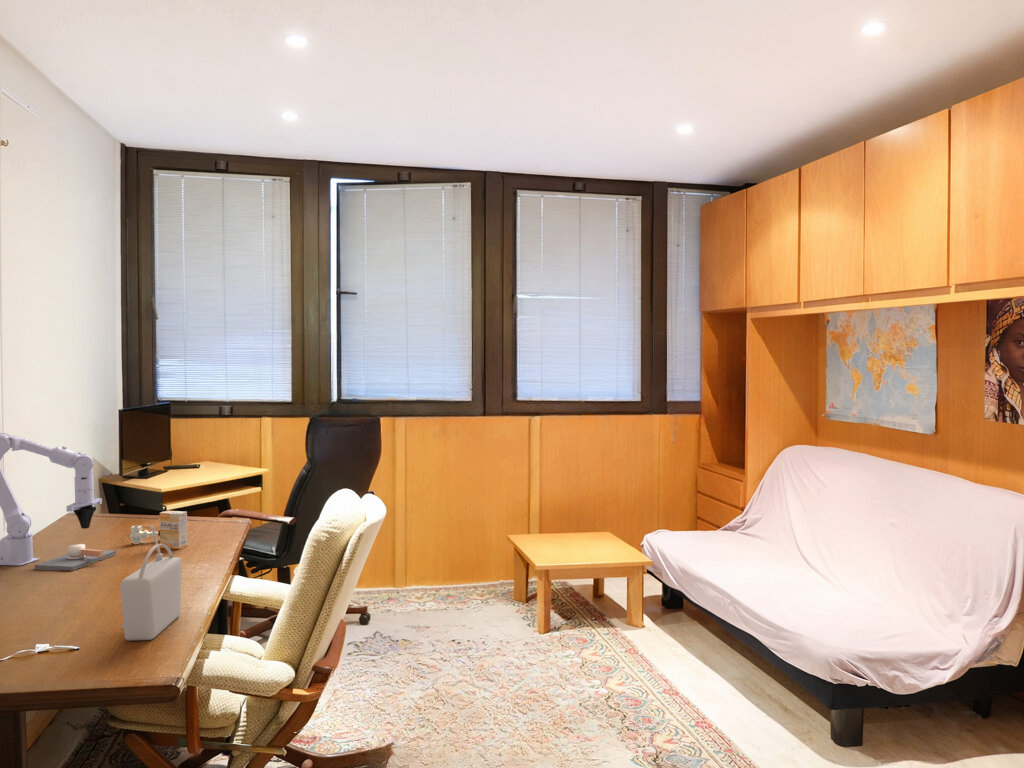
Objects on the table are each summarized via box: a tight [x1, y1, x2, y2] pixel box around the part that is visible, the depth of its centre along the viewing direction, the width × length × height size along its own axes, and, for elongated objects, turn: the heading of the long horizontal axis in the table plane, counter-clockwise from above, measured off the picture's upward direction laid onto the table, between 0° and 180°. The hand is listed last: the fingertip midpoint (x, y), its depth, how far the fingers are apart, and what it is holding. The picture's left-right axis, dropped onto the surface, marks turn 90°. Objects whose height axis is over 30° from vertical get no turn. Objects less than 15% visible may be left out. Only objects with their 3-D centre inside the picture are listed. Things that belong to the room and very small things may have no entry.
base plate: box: [34, 549, 117, 571], centre depth 247 cm, size 14×20×2 cm
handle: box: [67, 543, 104, 557], centre depth 245 cm, size 13×5×3 cm, turn 74°
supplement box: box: [159, 510, 188, 550], centre depth 265 cm, size 8×5×13 cm, turn 76°
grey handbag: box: [119, 525, 183, 642], centre depth 183 cm, size 22×8×25 cm, turn 4°
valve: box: [129, 524, 160, 544], centre depth 273 cm, size 7×7×12 cm
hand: (85, 528), depth 256 cm, fingers closed
